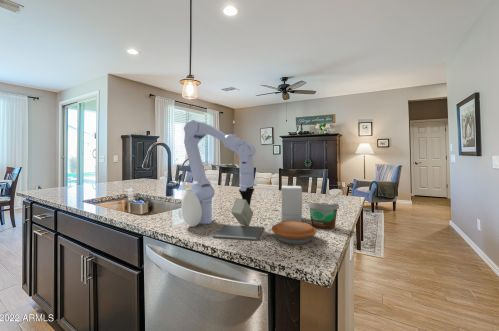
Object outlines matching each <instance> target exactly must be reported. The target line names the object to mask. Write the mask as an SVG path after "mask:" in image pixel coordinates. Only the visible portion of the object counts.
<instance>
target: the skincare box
mask: <svg viewBox="0 0 499 331" xmlns="http://www.w3.org/2000/svg"><path fill="white" fill-rule="evenodd" d="M230 212H231V214H232V216H234V219H236V220H237V222H238V225H243V226H251V222H252V219H253V216H254V211H253V210H252V208H251V206H249V204H248V203H247V201H246V200H244V199H242V198H238V197H237V198H235V200H234V203H233V205H232V208H231V211H230Z"/></svg>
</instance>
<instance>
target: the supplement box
mask: <svg viewBox="0 0 499 331" xmlns="http://www.w3.org/2000/svg"><path fill="white" fill-rule="evenodd" d="M302 211H303V188H302V186H301V185H282V186H281V222H286V221H295V222H302V218H303V214H302Z"/></svg>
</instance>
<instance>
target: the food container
mask: <svg viewBox="0 0 499 331" xmlns="http://www.w3.org/2000/svg"><path fill="white" fill-rule="evenodd" d="M307 207H308V208H309V215H310V223H311V224H310V225H311V226H312V227H314V228H315V229H318V230H333V229H335V227H336V222H337V221H336V220H337V214H338V209H340V207H339V204H338V202H337V203H333V204H330V203H324V202H320V203H316V202H311V200H309V201H308V204H307Z"/></svg>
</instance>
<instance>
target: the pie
mask: <svg viewBox="0 0 499 331" xmlns="http://www.w3.org/2000/svg"><path fill="white" fill-rule="evenodd" d="M317 229H318V228H314V227H312V226H311V224H309V223H307V222H295V221H280V222H278V223H276V224H274V225H272V227H271V231H272V232H273V234H274V235H275V237H276V239H277V240H278V241H279V242H281V243H283V244H288V245H304V244H307V243H309V242H310V241H311V240H312V239H313V237H314V236H315V235H316V234H317V233H318V230H317Z"/></svg>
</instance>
